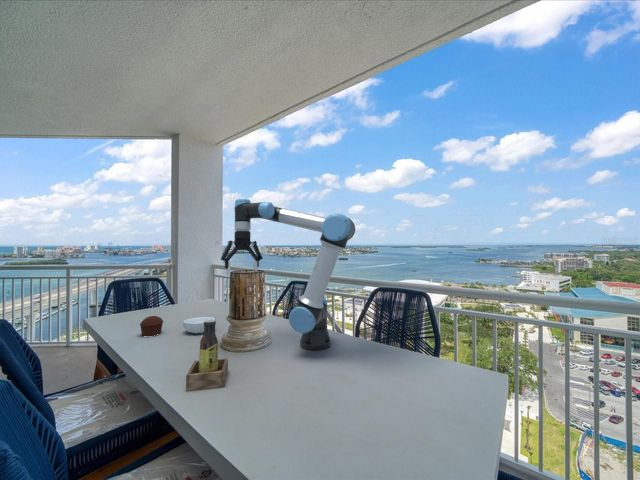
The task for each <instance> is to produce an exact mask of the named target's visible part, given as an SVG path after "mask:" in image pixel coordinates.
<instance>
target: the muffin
mask: <svg viewBox="0 0 640 480" xmlns="http://www.w3.org/2000/svg"><path fill="white" fill-rule="evenodd" d="M163 323H164V320H163V319H162V317H159V316H157V315H150V316H147V317H145V318H144V319H143V320H142V321H141V322H140V324H139V326H140V331H141V336H142V335H143V336H153V337H155V336H154V335H157V334H160V333H162V329H163V328H162V327H163ZM160 335H161V334H160ZM143 336H142V337H143ZM157 336H158V335H157Z"/></svg>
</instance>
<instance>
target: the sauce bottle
mask: <svg viewBox="0 0 640 480" xmlns="http://www.w3.org/2000/svg"><path fill="white" fill-rule="evenodd" d="M216 322H217V321H216V319H215V320H207V321H204V333H203V335H202V337H201V339H200V341H199V359H198V361H199V373H207V372H217V371H218V359H219V340H218V337H217V334H216Z"/></svg>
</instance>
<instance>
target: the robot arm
mask: <svg viewBox="0 0 640 480" xmlns="http://www.w3.org/2000/svg"><path fill="white" fill-rule="evenodd" d="M233 210H234V241H233V240H227V245H226V246H225V249H224V251H223V253H222V255H221V256H220V257H221V258H220V261H223V262H224V269H226V276H228V277H229V276H231V261H230V260H231V259H232V258H233V256H234V255H235V254H236V253H237V252H238V250H239V251H247V252H248V253H249V254H250V256H251V257H252V259H254V260H253V271H254V270H255V271H257V272H258V268H259V267H260V265H259V264H260V261H261V260H263V259H264V258H263V256H262V253H261V252H260V249H259V247H258V244H257V243H258V242H257V241H256V240H253V241H252V240H251V224H252V223H251V219H263V220H267V221H270V222H271V221H272V222H276V223H281V224H284V225H289V226H293V227H296V228H302V229H306V230H309V231H314V232H317V233H321V235H320V239H319V241H320V243H321V246H320V249H319V251H318V254H317V257H316V259H315V262H314V265H313V268H312V270H311V273H310V276H309V278H308V279H309V280H308V281H307V285H306V287H305V290H304V292H303V294H302V295H300V296H298V299H297V302H296V305H295V307H294V308H292V309H291V311H290V313H289V317H288V322H289V324H290V326H291V328H292V329H293V330H294V331H295V332H297V333H300V334H301V337H300V339H299V347H301V348H302V349H304V350H309V351H321V350H325V349H326V350H327V349H329V348H330V347H331V346H332V340H331V337H330V334H329V331H328V301H327V299H326V298H324V296H325V293H326V291H327V289H328V285H329V282H330V280H331V277H332V274H333V272H334V269H335V266H336V263H337V260H338V258H339V256H340V253H341V251H343V250H345V249H346V246H347V243H348V242H349V240H351V239H352V238H353V237H354V235H355V233H356V226H355V223H354V222H353V220H352V219H351V218H350V217H348V216H346V215H345V214H343V213H332V214H328V215H327V216H326V217H325V216H320V215H315V214H311V213H306V212H301V211H296V210H292V209H287V208H282V207H279V206H274V204H273V203H272V202H270V201H262V202H261V201H260V202H251V200H250V199H249V198H237V199H235V201H234V209H233ZM233 245H234V247H233V248H232V246H233ZM251 246H252V248H253V249H252V248H251ZM231 248H232V250H231Z"/></svg>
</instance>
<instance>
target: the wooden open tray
mask: <svg viewBox="0 0 640 480" xmlns="http://www.w3.org/2000/svg"><path fill="white" fill-rule="evenodd" d="M228 372H229V358H228V357H224V358H218V371H217V372H207V373H199V360H194V361H193V363H192V365H191V366H190V368H189V369H188V372H187V373H186V376H185V381H186V382H185V391H186V392H189V391H190V392H191V391H200V390H208V389H210V390H211V389H217V388H225V385H226V381H227V377H228Z"/></svg>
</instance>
